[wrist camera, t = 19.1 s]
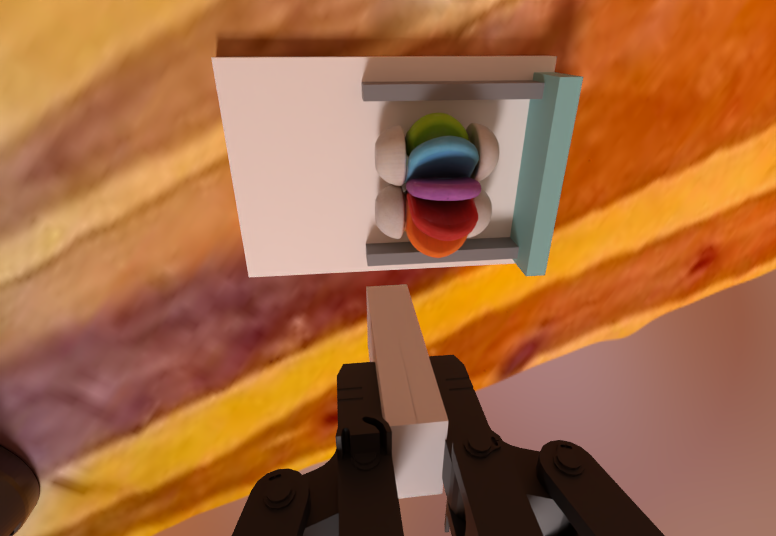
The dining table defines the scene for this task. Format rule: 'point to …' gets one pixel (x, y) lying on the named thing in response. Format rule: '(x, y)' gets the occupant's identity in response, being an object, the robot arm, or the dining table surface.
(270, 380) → the dining table surface
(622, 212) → the dining table surface
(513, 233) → the board
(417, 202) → the multicolored rounded lobe cluster
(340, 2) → the dining table surface
